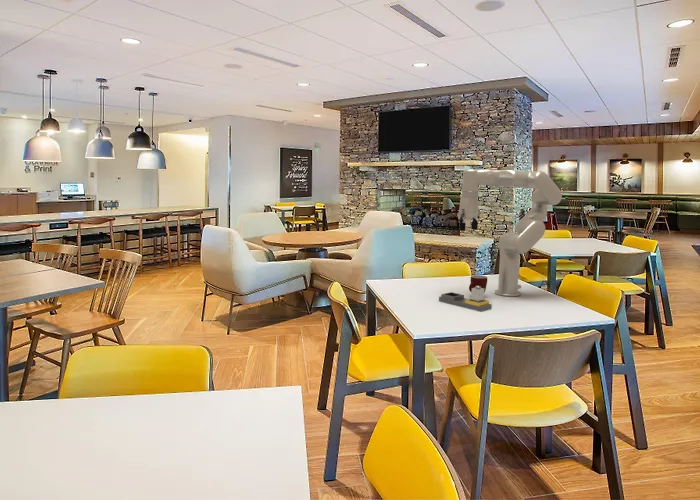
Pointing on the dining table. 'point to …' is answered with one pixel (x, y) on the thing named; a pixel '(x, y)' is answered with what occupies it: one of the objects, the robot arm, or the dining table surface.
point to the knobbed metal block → (477, 294)
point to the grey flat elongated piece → (464, 302)
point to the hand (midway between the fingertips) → (468, 230)
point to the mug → (478, 282)
